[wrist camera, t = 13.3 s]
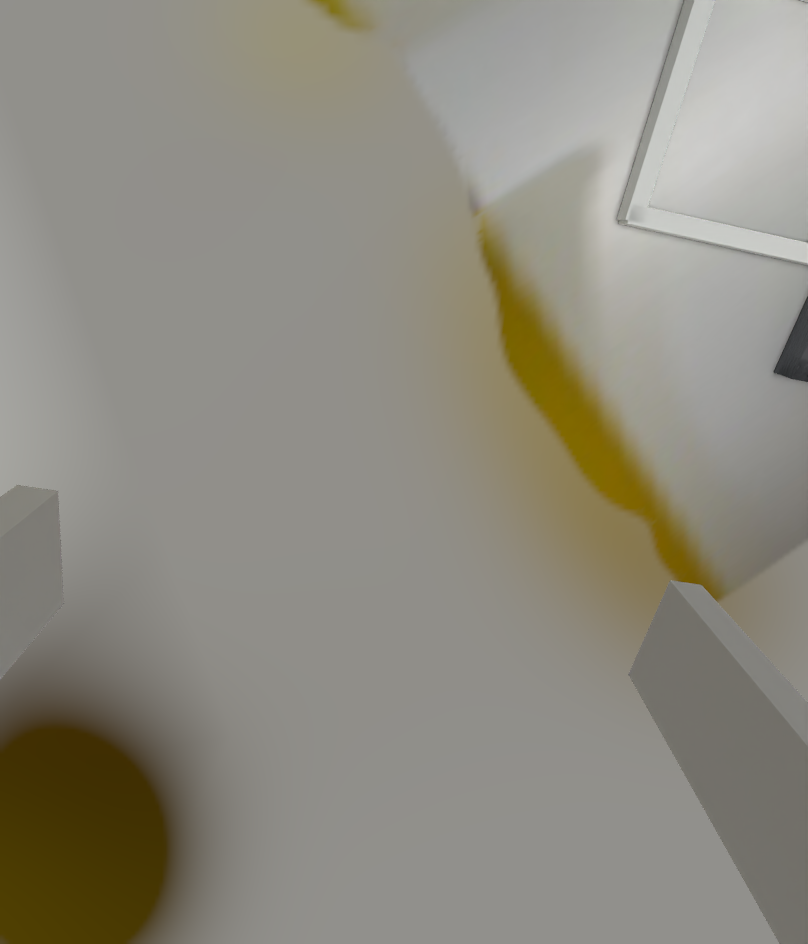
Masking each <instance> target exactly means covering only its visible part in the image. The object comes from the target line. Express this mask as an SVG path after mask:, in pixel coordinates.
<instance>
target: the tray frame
mask: <svg viewBox="0 0 808 944" xmlns="http://www.w3.org/2000/svg"><path fill="white" fill-rule="evenodd" d="M715 1H716V0H684V4H683V7H682V10H681V13H680V17H679V20H678V23H677V26H676V29H675V33H674V36H673V39H672V42H671V46H670V49H669V52H668V55H667V59H666V62H665V65H664V68H663V71H662V75H661V78H660V81H659V84H658V88H657V91H656V94H655V97H654V101H653V104H652V107H651V110H650V113H649V117H648V120H647V123H646V126H645V130H644V133H643V136H642V139H641V142H640V146H639V149H638V152H637V155H636V159H635V162H634V165H633V168H632V172H631V175H630V178H629V181H628V184H627V188H626V191H625V194H624V197H623V201H622V204H621V207H620V210H619V214H618V217H617V220H619V223H618V224H622V225H626V226H631V227H635V228H640V229H644V230H649V231H653V232H658V233H662V234H667V235H672V236H676V237H681V238H685V239H690V240H694V241H699V242H703V243H708V244H712V245H717V246H721V247H726V248H730V249H735V250H740V251H744V252H749V253H753V254H758V255H762V256H767V257H771V258H776V259H780V260H785V261H789V262H794V263H798V264H803V265H808V243H806V242H802V241H797V240H793V239H789V238H784V237H780V236H775V235H771V234H766V233H762V232H758V231H753V230H749V229H744V228H740V227H735V226H731V225H727V224H722V223H718V222H713V221H709V220H704V219H700V218H696V217H691V216H687V215H682V214H678V213H673V212H669V211H664V210H660V209H656V208H651V207H648V206H649V203H650V200H651V197H652V193H653V190H654V187H655V184H656V181H657V178H658V175H659V172H660V169H661V166H662V163H663V160H664V157H665V154H666V151H667V148H668V144H669V141H670V138H671V135H672V132H673V129H674V126H675V123H676V120H677V117H678V114H679V111H680V108H681V105H682V102H683V99H684V96H685V92H686V89H687V86H688V83H689V80H690V77H691V74H692V71H693V68H694V65H695V62H696V59H697V56H698V53H699V50H700V47H701V44H702V40H703V37H704V34H705V31H706V28H707V25H708V22H709V19H710V16H711V13H712V10H713V7H714V4H715ZM800 1H804V2H807V3H808V0H800Z"/></svg>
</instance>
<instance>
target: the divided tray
mask: <svg viewBox="0 0 808 944" xmlns="http://www.w3.org/2000/svg"><path fill="white" fill-rule="evenodd" d="M774 373H777V374H780V375H783V376H785V377H788V378H791V379H796V380H801V381H806V382H808V298H807V300H806V302H805V304H804V307H803V309H802V311H801V313H800V315H799V318H798V320H797V322H796V324H795V326H794V329H793V331H792V333H791V335H790V337H789V340H788V342H787V344H786V346H785V349H784V351H783V353H782V355H781V357H780V360H779V362H778V364H777V366H776V368H775V371H774Z"/></svg>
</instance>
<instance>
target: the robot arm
mask: <svg viewBox="0 0 808 944" xmlns="http://www.w3.org/2000/svg"><path fill="white" fill-rule="evenodd" d="M63 604H64V598H63V579H62V559H61V540H60V521H59V501H58V491H55V490H48V489H41V488H34V487H27V486H21V485H17V486H15V487H14V488H12V489H11V490H10V491H8V492H7V493H5V494H4V495H2V496H1V497H0V679H1V678H2V677H3V676H4V674H5V673H6V672H7V671H8V670H9V669H10V667H11V666H12V665H13V664H14V663H15V661H16V660H17V659H18V658H19V657H20V655H21V654H22V653H23V652H24V651H25V649H26V648H27V647H28V646H29V645H30V643H31V642H32V641H33V640H34V639H35V637H36V636H37V635H38V634H39V633H40V632H41V630H42V629H43V628H44V627H45V626H46V624H47V623H48V622H49V621H50V620H51V618H52V617H53V616H54V615H55V614H56V613H57V611H58V610H59V609H60V608H61V607H62V605H63ZM629 676H630V678H631V680H632V682H633V684H634V685H635V687H636V689H637V691H638V693H639V694H640V696H641V698H642V700H643V701H644V703H645V705H646V707H647V708H648V710H649V712H650V714H651V716H652V717H653V719H654V721H655V723H656V725H657V726H658V728H659V730H660V732H661V733H662V735H663V737H664V739H665V741H666V742H667V744H668V746H669V748H670V750H671V751H672V753H673V755H674V756H675V758H676V760H677V762H678V764H679V765H680V767H681V769H682V771H683V772H684V774H685V776H686V778H687V780H688V782H689V783H690V785H691V787H692V789H693V790H694V792H695V794H696V796H697V798H698V799H699V801H700V803H701V805H702V806H703V808H704V810H705V811H706V813H707V815H708V817H709V819H710V821H711V823H712V824H713V826H714V828H715V830H716V831H717V833H718V835H719V837H720V839H721V840H722V842H723V844H724V846H725V848H726V849H727V851H728V853H729V855H730V856H731V858H732V860H733V862H734V864H735V865H736V867H737V869H738V871H739V872H740V874H741V876H742V878H743V880H744V881H745V883H746V885H747V887H748V888H749V890H750V892H751V894H752V895H753V897H754V899H755V901H756V903H757V904H758V906H759V908H760V910H761V912H762V913H763V915H764V917H765V919H766V921H767V922H768V924H769V926H770V927H771V929H772V931H773V933H774V935H775V936H776V938H777V940H778V942H779V944H808V702H807V701H806V700H805V699H804V697H803V696H802V695H801V694H800V693H799V692H798V691H797V690H796V689H795V688H794V686H793V685H792V684H791V683H790V682H789V681H788V680H787V679H786V678H785V677H784V676H783V674H782V673H781V672H780V671H779V670H778V669H777V668H776V667H775V666H774V664H773V663H771V661H770V660H769V659H768V658H767V657H766V656H765V654H764V653H763V652H762V651H761V650H760V649H759V648H758V647H757V646H756V645H755V643H754V642H753V641H752V640H751V639H750V638H749V637H748V636H747V635H746V634H745V632H743V630H742V629H741V628H740V627H739V626H738V625H737V624H736V623H735V621H734V620H733V619H732V618H731V617H730V616H729V615H728V614H727V613H726V612H725V610H724V609H723V608H722V607H721V606H720V605H719V604H718V603H717V602H716V601H715V599H714V598H713V597H712V596H711V595H710V594H709V593H708V592H707V591H706V590H705V588H704V587H703V586H702V585H698V584H691V583H684V582H677V581H670V582H669V584H668V587H667V589H666V591H665V593H664V596H663V598H662V600H661V602H660V605H659V607H658V609H657V611H656V613H655V616H654V618H653V620H652V622H651V625H650V627H649V629H648V632H647V634H646V636H645V638H644V641H643V643H642V645H641V647H640V650H639V652H638V654H637V656H636V658H635V661H634V663H633V665H632V668H631V670H630V672H629Z"/></svg>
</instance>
